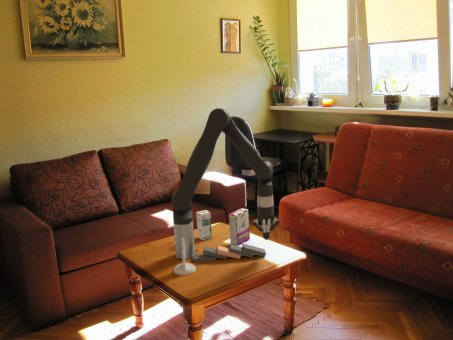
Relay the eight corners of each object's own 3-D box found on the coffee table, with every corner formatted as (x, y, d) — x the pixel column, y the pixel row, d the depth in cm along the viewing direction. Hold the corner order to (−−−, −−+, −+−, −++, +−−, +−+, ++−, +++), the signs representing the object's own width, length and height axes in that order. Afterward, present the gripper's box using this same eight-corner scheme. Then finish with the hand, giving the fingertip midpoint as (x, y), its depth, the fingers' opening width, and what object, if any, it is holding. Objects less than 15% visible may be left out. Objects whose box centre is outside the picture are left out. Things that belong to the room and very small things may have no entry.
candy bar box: (242, 237, 251) (241, 207, 247) (250, 239, 248) (249, 209, 244) (229, 244, 242) (228, 213, 239) (237, 246, 239) (236, 215, 236)
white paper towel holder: (173, 276, 209) (171, 244, 206) (174, 266, 219) (172, 236, 215) (195, 274, 210) (193, 242, 206) (195, 265, 219) (193, 234, 216)
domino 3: (239, 258, 224) (217, 253, 222) (238, 254, 229) (216, 249, 227) (240, 255, 224) (218, 249, 222) (239, 250, 228) (217, 245, 227)
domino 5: (264, 257, 225) (242, 251, 223) (263, 252, 230) (241, 247, 228) (265, 253, 224) (243, 247, 223) (264, 249, 229) (242, 243, 228)
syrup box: (202, 240, 249) (200, 214, 246) (197, 237, 254) (196, 211, 251) (212, 238, 252) (210, 212, 248) (207, 235, 257) (205, 209, 253)
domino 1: (216, 261, 224) (193, 263, 223) (215, 257, 229) (193, 258, 228) (216, 257, 223) (192, 259, 222) (215, 253, 228) (192, 255, 227)
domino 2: (225, 259, 224) (202, 253, 223) (225, 255, 229) (203, 250, 228) (226, 255, 223) (204, 250, 223) (226, 251, 228) (204, 246, 228)
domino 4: (252, 257, 224) (229, 252, 223) (250, 253, 229) (229, 248, 228) (253, 254, 224) (231, 248, 223) (251, 249, 229) (230, 244, 227)
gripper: (278, 201, 226) (278, 235, 229) (250, 202, 225) (251, 237, 229) (280, 205, 218) (281, 241, 222) (252, 207, 217) (253, 243, 221)
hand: (266, 239), depth 225 cm, fingers closed
